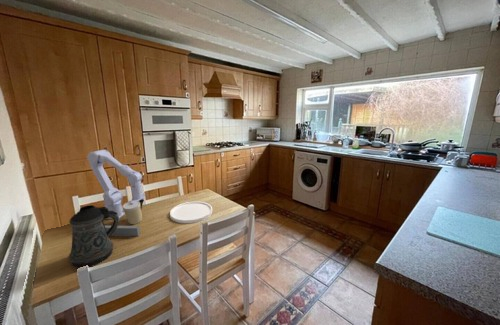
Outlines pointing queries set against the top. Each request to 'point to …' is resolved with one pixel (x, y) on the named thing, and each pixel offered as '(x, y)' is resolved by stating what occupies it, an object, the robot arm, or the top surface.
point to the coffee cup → (133, 212)
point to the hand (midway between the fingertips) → (139, 210)
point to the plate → (191, 212)
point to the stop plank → (125, 230)
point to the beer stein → (91, 236)
